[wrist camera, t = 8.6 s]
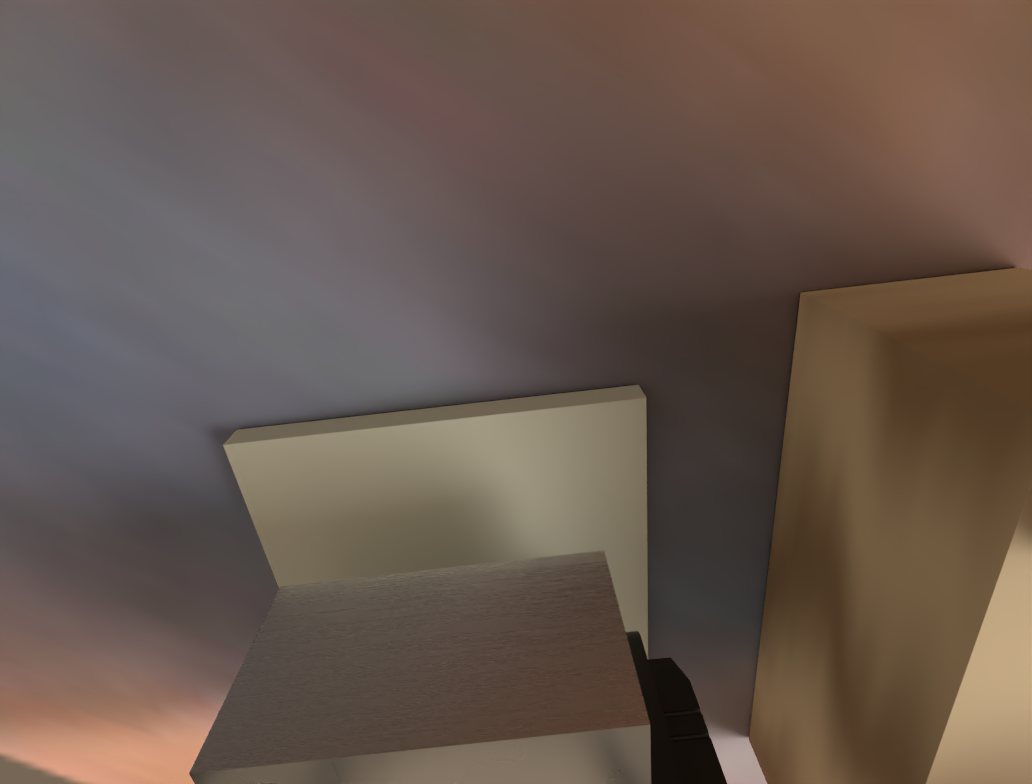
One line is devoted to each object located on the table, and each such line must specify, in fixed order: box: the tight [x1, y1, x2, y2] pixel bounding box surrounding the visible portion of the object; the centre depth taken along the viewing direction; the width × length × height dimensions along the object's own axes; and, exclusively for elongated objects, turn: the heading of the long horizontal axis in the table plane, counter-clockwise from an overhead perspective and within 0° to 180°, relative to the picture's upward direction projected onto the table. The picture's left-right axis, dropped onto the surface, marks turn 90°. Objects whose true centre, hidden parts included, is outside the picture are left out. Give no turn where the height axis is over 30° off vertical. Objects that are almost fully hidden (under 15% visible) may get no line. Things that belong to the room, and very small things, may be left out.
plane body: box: [749, 268, 1032, 784], centre depth 9 cm, size 13×4×8 cm, turn 6°
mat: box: [223, 385, 648, 659], centre depth 13 cm, size 10×8×1 cm
